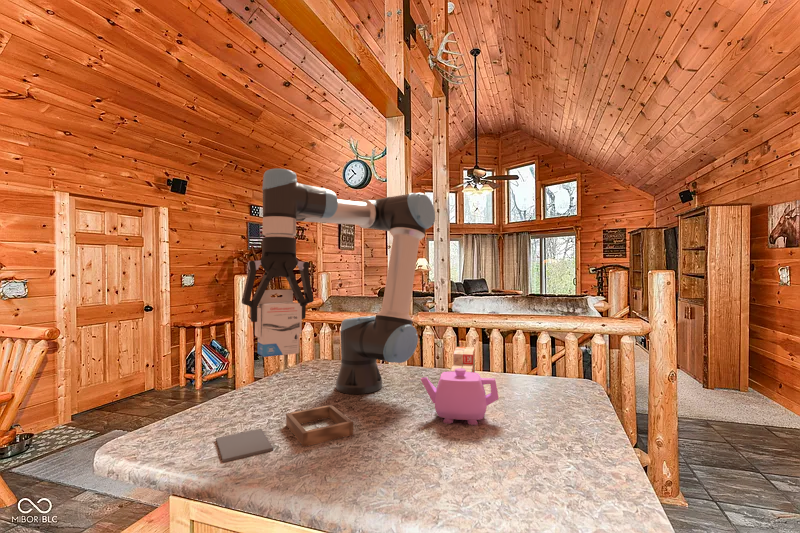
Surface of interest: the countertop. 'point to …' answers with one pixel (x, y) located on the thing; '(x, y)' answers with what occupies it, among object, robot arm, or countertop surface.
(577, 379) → the countertop surface
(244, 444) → the rubber mat
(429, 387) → the teapot
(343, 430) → the walnut frame
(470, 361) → the stack of blocks
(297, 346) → the ink box
